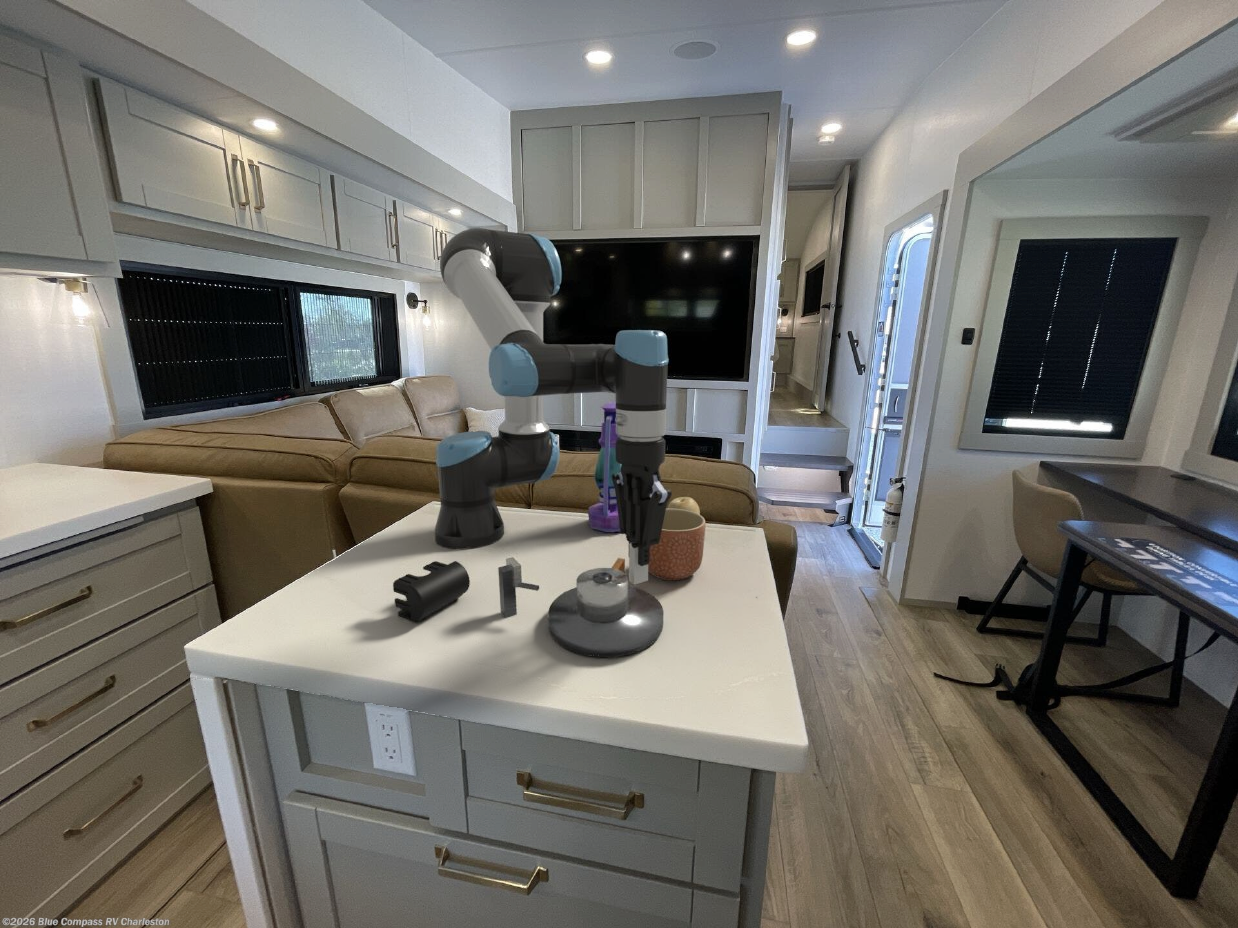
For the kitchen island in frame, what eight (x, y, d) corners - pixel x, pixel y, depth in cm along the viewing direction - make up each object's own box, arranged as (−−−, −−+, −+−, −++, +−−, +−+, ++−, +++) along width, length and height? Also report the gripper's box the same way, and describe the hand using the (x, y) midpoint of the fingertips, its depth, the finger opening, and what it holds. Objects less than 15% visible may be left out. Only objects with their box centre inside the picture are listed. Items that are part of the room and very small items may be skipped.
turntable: (528, 643, 71) (526, 600, 70) (573, 586, 88) (573, 550, 86) (648, 667, 66) (649, 621, 65) (672, 602, 83) (674, 564, 82)
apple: (707, 528, 117) (698, 505, 113) (676, 540, 118) (666, 518, 113) (699, 508, 123) (689, 485, 119) (669, 520, 124) (659, 498, 120)
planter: (686, 593, 87) (689, 536, 84) (626, 576, 93) (627, 522, 91) (712, 567, 97) (715, 515, 94) (657, 553, 103) (658, 504, 101)
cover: (577, 623, 73) (575, 590, 72) (578, 596, 81) (577, 566, 80) (630, 620, 73) (630, 587, 72) (626, 594, 81) (626, 564, 80)
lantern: (594, 514, 126) (594, 397, 119) (639, 517, 124) (641, 399, 117) (580, 533, 114) (579, 404, 106) (630, 537, 111) (632, 406, 104)
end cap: (425, 629, 76) (421, 589, 74) (394, 617, 79) (389, 579, 77) (471, 600, 84) (469, 564, 83) (442, 590, 87) (439, 555, 86)
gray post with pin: (499, 609, 81) (496, 560, 79) (526, 602, 84) (524, 554, 81) (512, 628, 76) (510, 576, 74) (541, 619, 78) (539, 569, 76)
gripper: (597, 432, 77) (598, 570, 82) (645, 446, 66) (642, 604, 72) (636, 428, 81) (635, 560, 86) (687, 441, 70) (682, 591, 76)
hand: (638, 580), depth 79 cm, fingers closed
